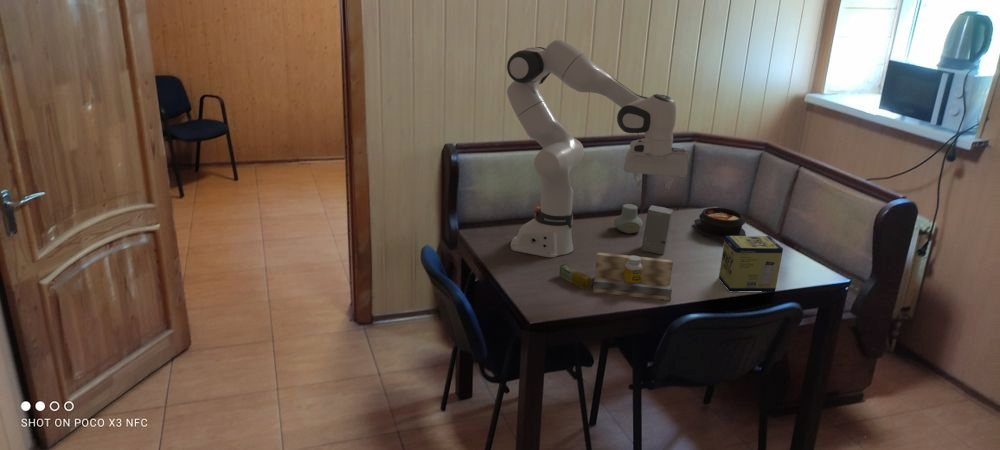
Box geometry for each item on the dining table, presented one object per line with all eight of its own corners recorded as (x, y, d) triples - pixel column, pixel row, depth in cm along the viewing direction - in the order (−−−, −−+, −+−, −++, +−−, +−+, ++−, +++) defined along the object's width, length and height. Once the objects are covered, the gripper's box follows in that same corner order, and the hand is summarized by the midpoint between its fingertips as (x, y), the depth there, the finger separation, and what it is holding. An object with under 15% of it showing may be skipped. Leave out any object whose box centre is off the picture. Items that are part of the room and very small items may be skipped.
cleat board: (592, 291, 227) (595, 265, 224) (594, 277, 237) (597, 252, 234) (670, 300, 224) (674, 274, 220) (669, 285, 234) (672, 260, 231)
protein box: (717, 278, 241) (724, 235, 235) (762, 278, 242) (770, 235, 236) (728, 292, 231) (736, 247, 225) (776, 292, 232) (784, 248, 227)
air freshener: (615, 234, 275) (617, 209, 271) (611, 226, 283) (614, 202, 279) (643, 235, 275) (646, 210, 271) (639, 227, 283) (642, 203, 279)
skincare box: (641, 251, 260) (646, 209, 254) (645, 244, 266) (650, 204, 260) (664, 255, 257) (670, 213, 251) (668, 248, 263) (673, 207, 258)
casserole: (682, 224, 288) (685, 204, 285) (723, 221, 293) (727, 201, 290) (714, 248, 266) (718, 226, 263) (759, 244, 270) (762, 224, 267)
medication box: (558, 276, 238) (559, 265, 236) (564, 274, 239) (565, 263, 238) (584, 290, 229) (585, 278, 227) (590, 287, 231) (591, 276, 229)
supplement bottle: (632, 280, 234) (635, 253, 231) (643, 286, 230) (647, 259, 226) (619, 283, 231) (622, 256, 228) (630, 290, 227) (634, 262, 224)
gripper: (690, 146, 232) (684, 187, 237) (626, 141, 236) (622, 181, 241) (691, 151, 227) (685, 193, 232) (625, 145, 230) (621, 187, 235)
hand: (652, 187), depth 236 cm, fingers open, 8 cm apart
